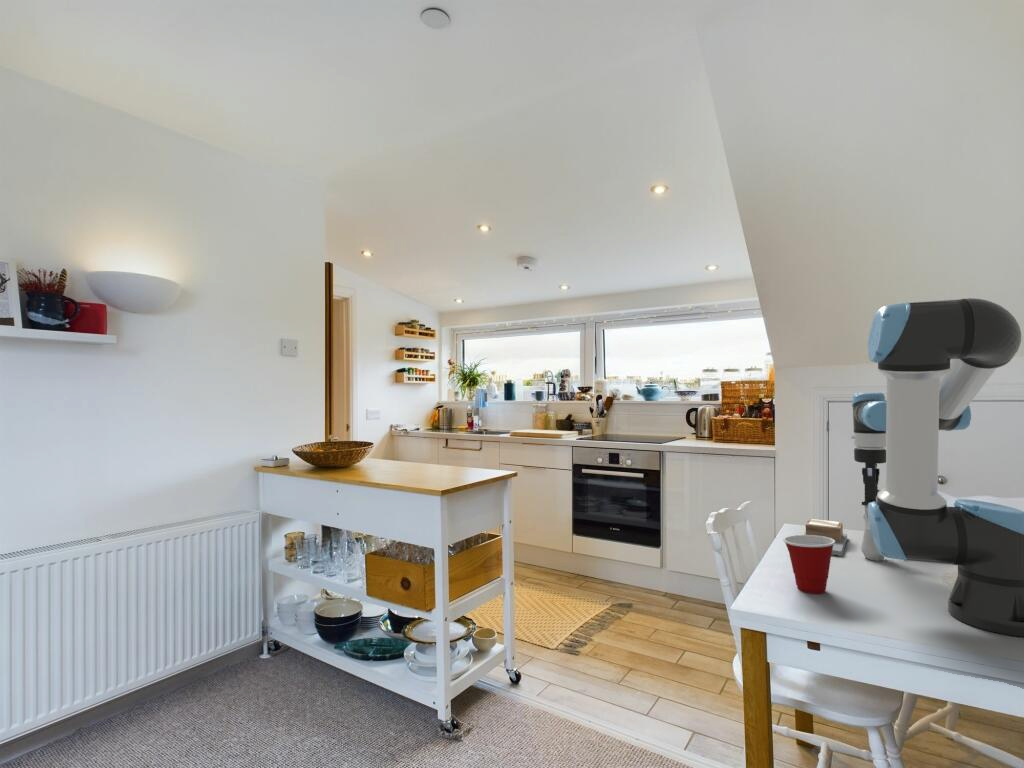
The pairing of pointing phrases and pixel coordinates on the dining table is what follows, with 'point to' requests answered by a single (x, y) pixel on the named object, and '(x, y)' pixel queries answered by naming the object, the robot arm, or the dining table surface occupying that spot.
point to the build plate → (839, 546)
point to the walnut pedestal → (825, 529)
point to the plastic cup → (810, 561)
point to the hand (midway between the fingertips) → (872, 524)
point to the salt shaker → (870, 546)
